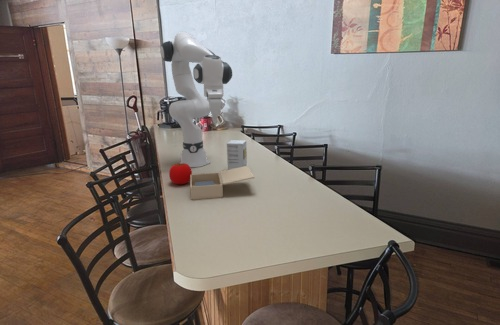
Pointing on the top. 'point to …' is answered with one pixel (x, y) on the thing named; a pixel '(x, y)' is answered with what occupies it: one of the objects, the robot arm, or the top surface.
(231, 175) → the lid
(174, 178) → the tomato
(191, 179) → the box
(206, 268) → the top surface
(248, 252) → the top surface
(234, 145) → the supplement box
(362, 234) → the top surface
